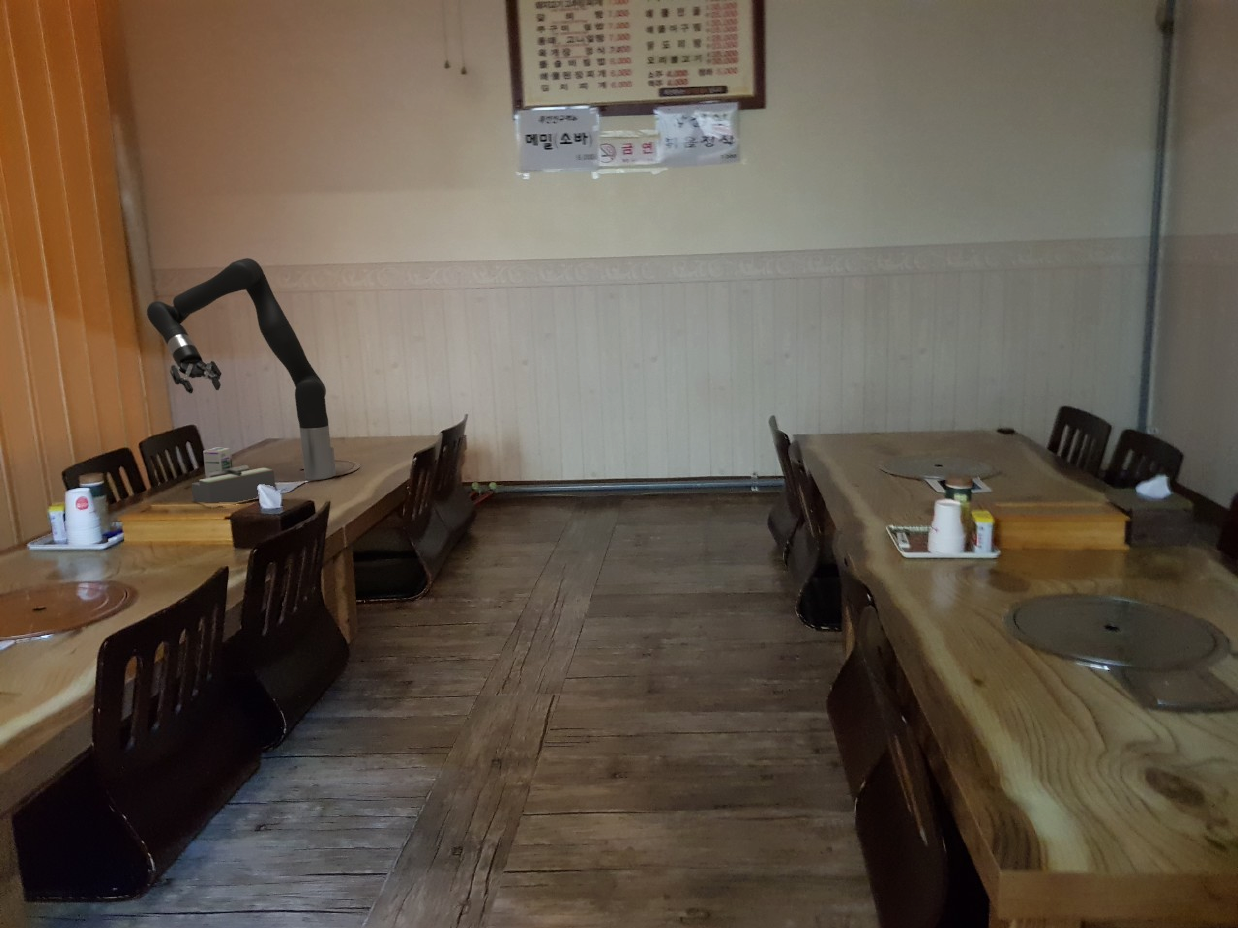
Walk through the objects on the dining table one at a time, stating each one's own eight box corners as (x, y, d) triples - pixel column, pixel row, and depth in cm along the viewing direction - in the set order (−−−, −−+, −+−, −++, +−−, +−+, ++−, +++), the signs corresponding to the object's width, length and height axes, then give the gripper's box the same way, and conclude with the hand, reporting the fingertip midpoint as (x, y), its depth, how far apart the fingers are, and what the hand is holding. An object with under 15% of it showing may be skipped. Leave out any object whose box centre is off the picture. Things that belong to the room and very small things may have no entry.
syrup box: (223, 497, 298) (220, 450, 296) (206, 497, 300) (202, 449, 297) (235, 494, 304) (231, 447, 301) (218, 493, 305) (214, 446, 302)
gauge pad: (248, 491, 302) (245, 464, 300) (262, 494, 296) (259, 467, 295) (210, 499, 293) (207, 472, 292) (223, 502, 288) (220, 475, 286)
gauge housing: (255, 490, 307) (252, 465, 306) (276, 495, 299) (273, 469, 297) (192, 503, 293) (188, 477, 291) (211, 509, 285) (208, 482, 283)
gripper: (164, 346, 308) (185, 385, 303) (208, 342, 318) (230, 379, 313) (159, 362, 313) (179, 400, 307) (203, 357, 323) (224, 395, 317)
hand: (205, 390), depth 310 cm, fingers open, 8 cm apart
